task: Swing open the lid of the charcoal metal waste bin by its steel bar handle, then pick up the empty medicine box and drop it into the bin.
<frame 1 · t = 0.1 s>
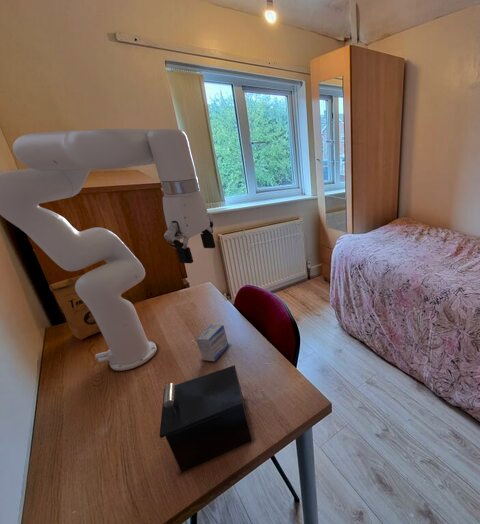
hand: (199, 254, 73), 37 cm above the table, tool pointing down, fingers open, 9 cm apart
bin lid: (200, 390, 63), point 14 cm above the table, hinge at 0.0°
medicine box: (216, 353, 94), on the table
coffee package: (97, 330, 107), on the table
bin: (216, 432, 69), on the table
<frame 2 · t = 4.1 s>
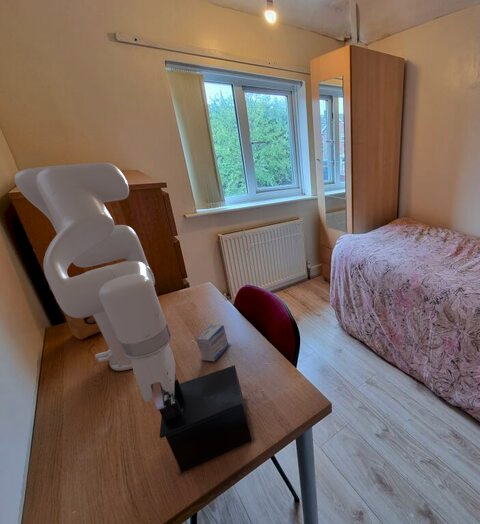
hand: (173, 405, 61), 13 cm above the table, tool pointing down, fingers closed on bin lid, 5 cm apart
bin lid: (200, 390, 63), point 14 cm above the table, hinge at -0.1°, touching gripper
everything else where it was.
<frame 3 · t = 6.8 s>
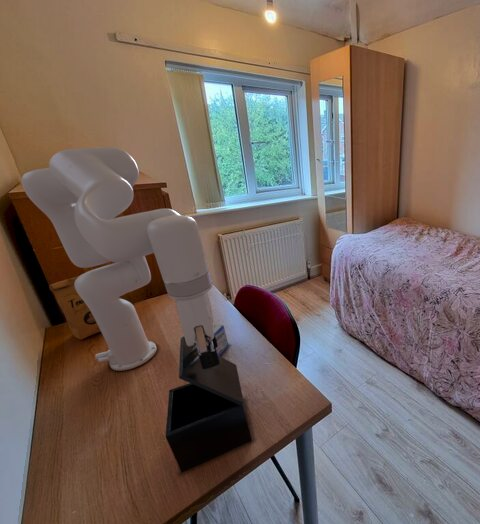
hand: (210, 356, 61), 22 cm above the table, tool pointing down, fingers closed on bin lid, 5 cm apart
bin lid: (219, 363, 62), point 20 cm above the table, hinge at 54.8°, touching gripper
everything else where it was.
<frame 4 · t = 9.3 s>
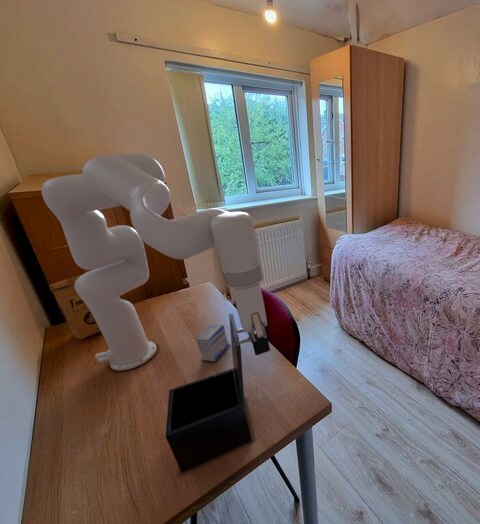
hand: (259, 344, 65), 21 cm above the table, tool pointing down, fingers closed on bin lid, 5 cm apart
bin lid: (246, 355, 65), point 20 cm above the table, hinge at 96.9°, touching gripper
everything else where it was.
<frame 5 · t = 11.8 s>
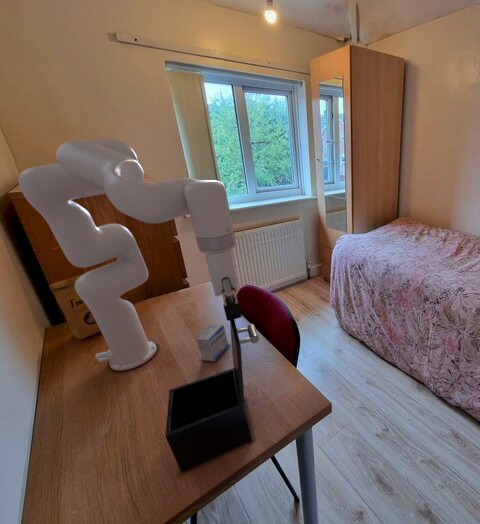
hand: (232, 307, 68), 28 cm above the table, tool pointing down, fingers open, 9 cm apart
bin lid: (246, 355, 65), point 20 cm above the table, hinge at 97.0°, touching gripper
everything else where it was.
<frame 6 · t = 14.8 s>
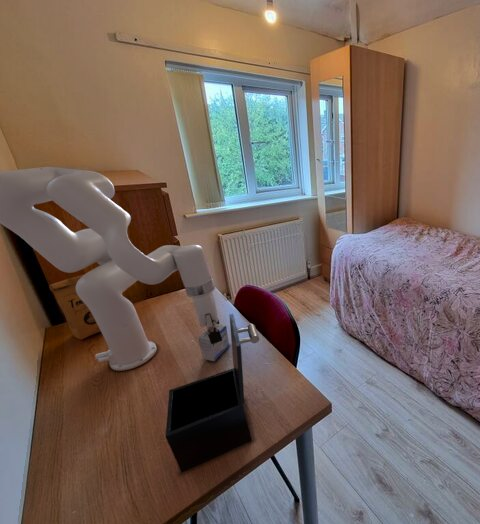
hand: (215, 333, 91), 8 cm above the table, tool pointing down, fingers open, 9 cm apart
bin lid: (246, 355, 65), point 20 cm above the table, hinge at 97.1°
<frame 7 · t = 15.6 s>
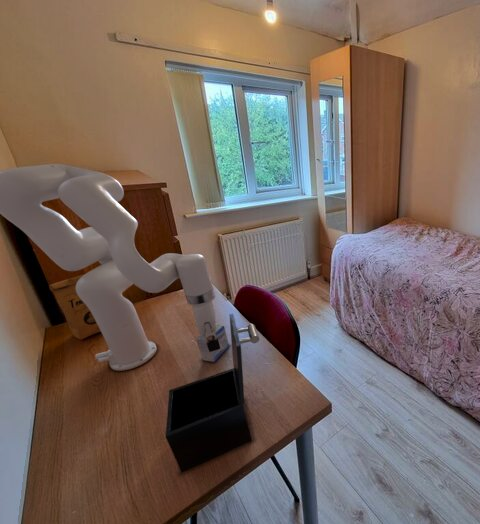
hand: (213, 341, 92), 5 cm above the table, tool pointing down, fingers closed on medicine box, 8 cm apart
medicine box: (216, 353, 94), on the table, touching gripper
everything else where it was.
when the fingers open (17 cm above the table, at t = 23.5 s): medicine box drops 9 cm, resting on bin.
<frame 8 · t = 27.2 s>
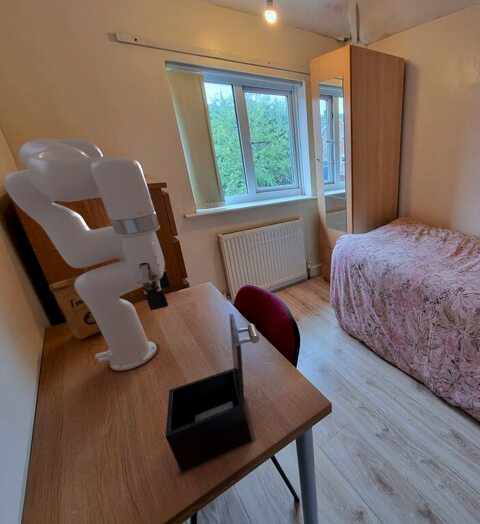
hand: (161, 297, 64), 32 cm above the table, tool pointing down, fingers open, 9 cm apart
medicine box: (196, 435, 65), point 3 cm above the table, touching bin
everything else where it was.
at the end: bin lid at +97° (first picture: +0°); medicine box inside the target area in the bin (3.9 cm from its centre), point 3.1 cm above the bin's base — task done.
